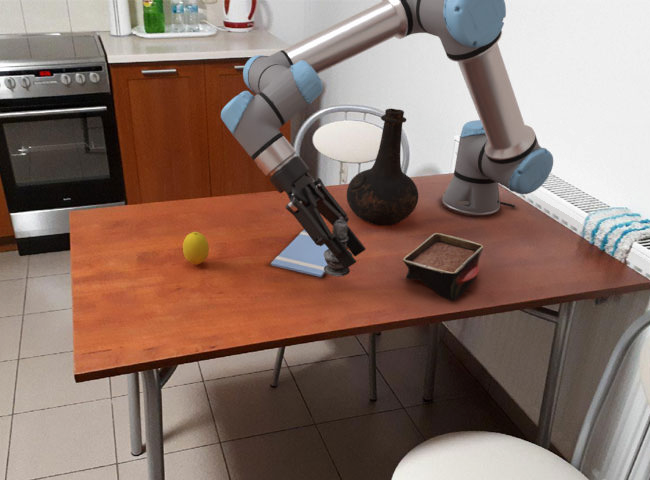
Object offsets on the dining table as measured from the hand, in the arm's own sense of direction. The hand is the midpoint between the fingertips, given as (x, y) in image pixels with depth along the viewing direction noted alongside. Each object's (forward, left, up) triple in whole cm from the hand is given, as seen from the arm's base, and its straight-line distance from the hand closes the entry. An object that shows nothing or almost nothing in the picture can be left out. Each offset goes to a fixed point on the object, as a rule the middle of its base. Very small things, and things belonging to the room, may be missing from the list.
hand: (355, 258), depth 127 cm
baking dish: (-21, +1, -9) cm, 23 cm away
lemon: (+27, -22, -9) cm, 36 cm away
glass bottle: (-24, -32, -9) cm, 41 cm away
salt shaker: (+3, -3, -4) cm, 5 cm away
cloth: (0, -20, -8) cm, 22 cm away
